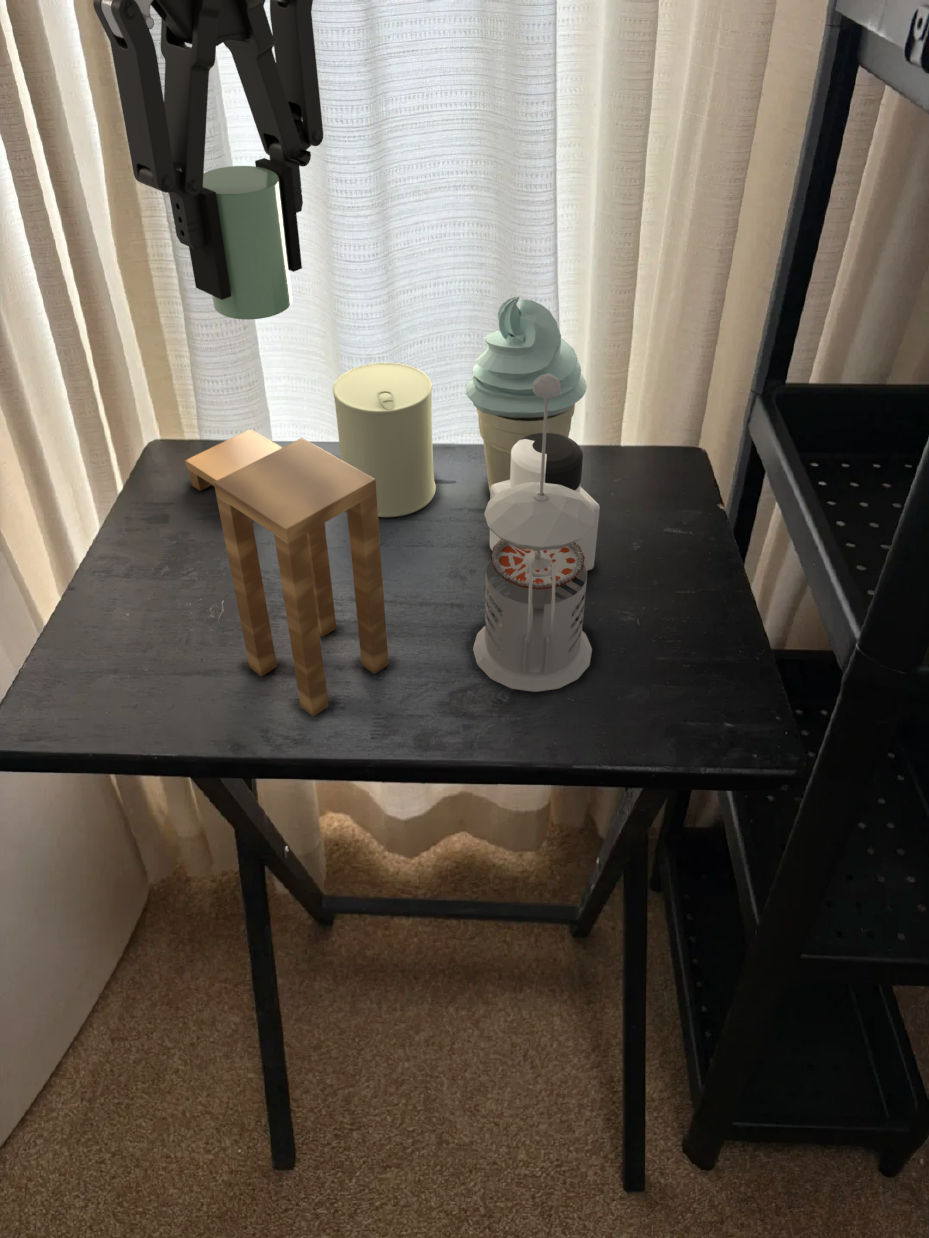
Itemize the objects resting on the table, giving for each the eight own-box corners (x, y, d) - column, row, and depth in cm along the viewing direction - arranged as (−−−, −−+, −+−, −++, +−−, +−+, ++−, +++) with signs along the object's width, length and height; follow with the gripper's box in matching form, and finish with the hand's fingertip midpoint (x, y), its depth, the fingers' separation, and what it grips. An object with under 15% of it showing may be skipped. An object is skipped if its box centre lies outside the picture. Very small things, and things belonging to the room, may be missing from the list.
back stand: (239, 518, 100) (235, 492, 98) (190, 485, 104) (184, 460, 102) (304, 483, 104) (301, 458, 102) (254, 453, 108) (250, 428, 106)
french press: (587, 610, 90) (614, 341, 73) (599, 708, 81) (632, 429, 65) (473, 609, 90) (473, 341, 73) (472, 707, 81) (473, 428, 65)
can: (349, 523, 99) (338, 412, 91) (336, 471, 106) (325, 363, 98) (444, 510, 101) (442, 400, 93) (425, 459, 107) (422, 352, 100)
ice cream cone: (583, 516, 100) (601, 320, 87) (467, 519, 100) (467, 323, 86) (571, 459, 108) (586, 270, 94) (463, 461, 107) (462, 272, 94)
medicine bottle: (555, 527, 99) (562, 416, 91) (595, 570, 94) (606, 456, 86) (488, 548, 96) (489, 435, 88) (525, 592, 92) (530, 478, 84)
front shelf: (313, 717, 81) (286, 529, 69) (249, 667, 85) (213, 481, 73) (389, 664, 85) (376, 479, 73) (324, 619, 89) (302, 437, 77)
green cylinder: (247, 327, 67) (229, 201, 62) (197, 303, 70) (176, 180, 64) (308, 302, 70) (296, 179, 65) (258, 279, 73) (243, 160, 67)
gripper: (72, -142, 46) (168, 343, 62) (370, -169, 56) (389, 253, 72) (-14, -155, 50) (97, 305, 65) (280, -178, 60) (316, 225, 76)
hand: (249, 277), depth 69 cm, fingers closed on green cylinder, 5 cm apart
